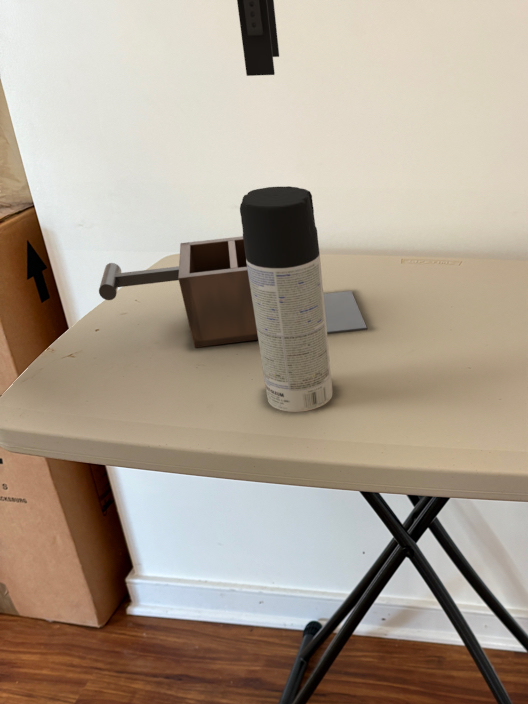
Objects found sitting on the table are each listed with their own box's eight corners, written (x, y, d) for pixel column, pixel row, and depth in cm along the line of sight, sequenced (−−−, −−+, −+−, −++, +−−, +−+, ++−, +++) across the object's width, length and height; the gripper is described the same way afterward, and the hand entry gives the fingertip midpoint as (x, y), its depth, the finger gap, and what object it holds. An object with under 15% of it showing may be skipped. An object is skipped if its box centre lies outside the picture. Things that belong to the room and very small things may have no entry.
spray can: (337, 386, 80) (319, 184, 67) (328, 419, 75) (306, 206, 62) (275, 386, 80) (245, 184, 68) (262, 418, 75) (227, 207, 62)
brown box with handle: (280, 231, 92) (103, 251, 89) (289, 265, 83) (92, 288, 80) (289, 296, 97) (122, 316, 94) (299, 334, 88) (114, 358, 85)
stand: (352, 298, 99) (351, 290, 98) (367, 335, 90) (367, 327, 89) (293, 304, 98) (293, 296, 97) (303, 342, 89) (302, 334, 88)
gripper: (268, -244, 57) (298, 82, 70) (279, -200, 76) (301, 49, 90) (167, -243, 56) (216, 85, 70) (204, -200, 76) (237, 51, 89)
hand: (264, 65), depth 80 cm, fingers open, 13 cm apart
